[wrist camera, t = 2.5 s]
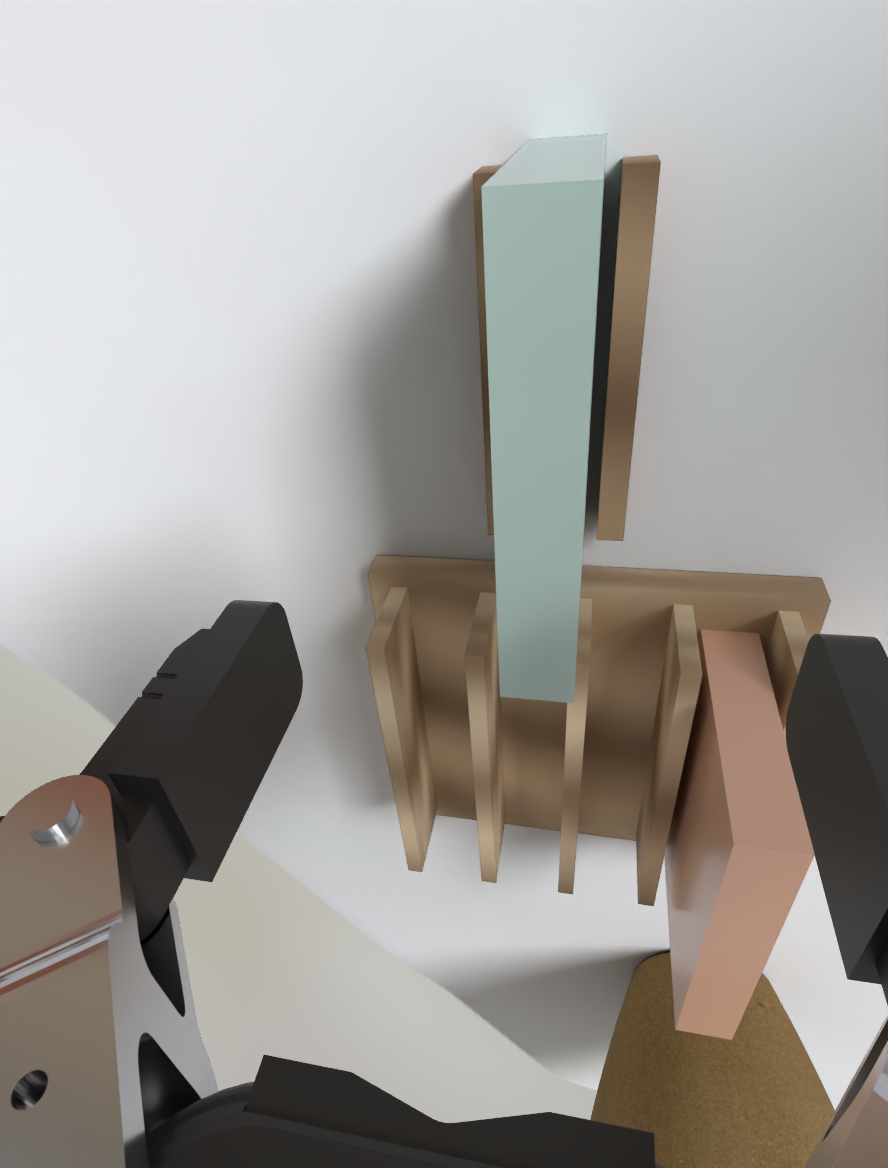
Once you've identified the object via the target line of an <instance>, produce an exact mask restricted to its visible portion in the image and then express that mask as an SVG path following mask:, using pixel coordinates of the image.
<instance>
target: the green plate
mask: <svg viewBox="0 0 888 1168" xmlns="http://www.w3.org/2000/svg"><path fill="white" fill-rule="evenodd" d="M606 141H607V134H594V135H580V136H566V137H553V138H539V139H530V140H529V141H528V142H527V143H526V144H525V145H524V146H523V147H522V148H521V149H520V150H519V151H518V152H517V153H516V154H515V155H514V156H513V157H512V158H510V159H509V160H508V161H507V162H506V163H505V164H504V165H503V166H502V167H501V168H500V169H499V170H498V171H497V172H496V173H495V174H494V175H493V176H492V177H491V178H490V179H489V180H488V181H487V182H486V183H485V184H484V185H483V186H481V188H482V216H483V244H484V271H485V299H486V326H487V354H488V381H489V409H490V437H491V464H492V492H493V519H494V547H495V575H496V602H497V630H498V657H499V685H500V697H510V698H522V699H533V700H544V701H555V702H566V703H574V692H575V675H576V659H577V642H578V625H579V609H580V592H581V575H582V558H583V542H584V525H585V508H586V490H587V473H588V455H589V438H590V420H591V403H592V385H593V368H594V351H595V333H596V316H597V298H598V281H599V263H600V246H601V229H602V211H603V194H604V176H605V159H606Z"/></svg>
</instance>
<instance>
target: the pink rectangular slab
mask: <svg viewBox="0 0 888 1168" xmlns="http://www.w3.org/2000/svg"><path fill="white" fill-rule="evenodd" d="M698 646H699V652H700V659H701V666H702V673H703V675H702V679H701V684H700V689H699V694H698V698H697V703H696V708H695V712H694V717H693V722H692V727H691V731H690V736H689V741H688V745H687V750H686V755H685V760H684V764H683V769H682V774H681V779H680V783H679V788H678V793H677V797H676V802H675V807H674V812H673V816H672V821H671V826H670V830H669V835H668V840H667V845H666V849H665V854H664V858H665V873H666V889H667V905H668V921H669V937H670V953H671V969H672V984H673V1000H674V1016H675V1030H679V1031H685V1032H691V1033H696V1034H702V1035H707V1036H713V1037H718V1038H724V1039H729V1040H732V1039H733V1036H734V1034H735V1032H736V1030H737V1027H738V1025H739V1023H740V1021H741V1018H742V1016H743V1014H744V1012H745V1009H746V1007H747V1005H748V1003H749V1000H750V998H751V996H752V994H753V992H754V989H755V987H756V985H757V983H758V980H759V978H760V976H761V974H762V971H763V969H764V967H765V965H766V962H767V960H768V958H769V956H770V953H771V951H772V949H773V947H774V945H775V942H776V940H777V938H778V936H779V933H780V931H781V929H782V927H783V924H784V922H785V920H786V918H787V915H788V913H789V911H790V909H791V906H792V904H793V902H794V900H795V897H796V895H797V893H798V891H799V889H800V886H801V884H802V882H803V880H804V877H805V875H806V873H807V871H808V868H809V866H810V864H811V862H812V859H813V857H814V855H815V854H814V850H813V846H812V842H811V839H810V835H809V831H808V827H807V823H806V820H805V816H804V812H803V808H802V804H801V801H800V797H799V793H798V789H797V785H796V782H795V778H794V774H793V770H792V767H791V763H790V759H789V755H788V751H787V745H786V739H785V735H784V731H783V727H782V723H781V719H780V715H779V711H778V707H777V703H776V699H775V695H774V692H773V688H772V684H771V680H770V676H769V672H768V668H767V664H766V660H765V656H764V652H763V648H762V644H761V640H760V636H759V633H748V632H733V631H718V630H703V629H701V632H700V637H699V642H698Z"/></svg>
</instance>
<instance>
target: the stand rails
mask: <svg viewBox="0 0 888 1168" xmlns="http://www.w3.org/2000/svg"><path fill="white" fill-rule="evenodd" d="M660 163H661V162H660V160H659V157H658V155H653V156H638V157H623V160H622V174H621V188H620V202H619V217H618V231H617V245H616V260H615V274H614V288H613V302H612V317H611V331H610V345H609V359H608V374H607V388H606V402H605V416H604V431H603V445H602V459H601V473H600V488H599V502H598V516H597V540H613V541H623V537H624V527H625V517H626V507H627V497H628V487H629V477H630V467H631V457H632V446H633V436H634V426H635V416H636V406H637V396H638V386H639V376H640V366H641V355H642V345H643V335H644V325H645V315H646V305H647V295H648V285H649V274H650V264H651V254H652V244H653V234H654V224H655V214H656V204H657V194H658V183H659V173H660ZM502 166H503V165H500V166H484V167H481V168H480V169H478V170H477V171H476V172H475V173H474V174H473V187H474V211H475V234H476V258H477V281H478V305H479V329H480V352H481V376H482V399H483V423H484V447H485V470H486V494H487V517H488V535H494V519H493V492H492V464H491V437H490V409H489V381H488V354H487V326H486V299H485V271H484V244H483V216H482V188H481V186H483V185H484V184H485V183H486V182H487V181H488V180H489V179H490V178H491V177H492V176H493V175H494V174H495V173H496V172H497V171H498V170H499V169H500V168H501V167H502Z"/></svg>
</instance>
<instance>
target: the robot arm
mask: <svg viewBox="0 0 888 1168" xmlns="http://www.w3.org/2000/svg"><path fill="white" fill-rule="evenodd" d="M302 685H303V678H302V670H301V666H300V663H299V659H298V655H297V652H296V648H295V645H294V641H293V638H292V634H291V631H290V627H289V623H288V620H287V616H286V613H285V610H284V608H283V607H282V605H281V604H279V603H277V602H260V601H242V600H234V601H232V602H231V603H229V604H228V605H227V607H226V608H225V609H224V611H223V612H222V613H221V615H220V616H219V618H218V619H217V620H216V622H215V623H214V625H213V626H212V627H211V629H201V630H199V631H198V632H197V633H195V634H194V635H193V636H191V637H190V638H189V639H187V640H186V641H185V642H183V643H182V644H181V645H179V646H178V647H176V648H175V649H174V650H173V652H172V653H171V654H170V656H169V657H168V658H167V660H166V661H165V662H164V664H163V665H162V666H161V668H160V669H159V670H158V672H157V677H156V678H155V677H153V678H152V680H151V681H150V682H149V684H148V685H147V686H146V688H145V689H144V690H143V692H142V697H138V698H137V700H136V701H135V702H134V704H133V705H132V706H131V707H130V709H129V710H128V711H127V713H126V714H125V715H124V717H123V718H122V719H121V721H120V722H119V723H118V725H117V726H116V727H115V729H114V730H113V731H112V733H111V734H110V736H109V737H108V738H107V739H106V741H105V742H104V743H103V745H102V746H101V748H100V749H99V750H98V751H97V753H96V754H95V755H94V757H93V758H92V759H91V761H90V762H89V763H88V765H87V766H86V767H85V769H84V770H83V771H82V772H81V773H80V775H74V776H67V777H63V778H59V779H56V780H53V781H51V782H49V783H46V784H44V785H42V786H40V787H39V788H37V789H35V790H33V791H32V792H31V793H29V794H28V795H26V796H25V797H24V798H23V799H21V800H20V801H19V802H18V803H16V804H15V806H14V807H13V808H12V809H11V810H10V811H9V812H8V813H7V815H6V816H2V817H0V1168H666V1167H665V1166H663V1165H661V1164H659V1163H657V1162H656V1161H655V1145H654V1133H651V1132H646V1131H641V1130H636V1129H631V1128H626V1127H621V1126H616V1125H611V1124H606V1123H601V1122H596V1121H591V1120H586V1119H581V1118H576V1117H572V1116H566V1115H562V1114H557V1113H552V1112H545V1113H537V1114H529V1115H520V1116H511V1117H502V1118H494V1119H485V1120H476V1121H468V1122H459V1123H443V1122H438V1121H436V1120H434V1119H432V1118H430V1117H428V1116H427V1115H425V1114H423V1113H421V1112H420V1111H418V1110H416V1109H415V1108H413V1107H411V1106H409V1105H408V1104H406V1103H404V1102H402V1101H401V1100H399V1099H397V1098H395V1097H394V1096H392V1095H390V1094H388V1093H387V1092H385V1091H383V1090H381V1089H380V1088H378V1087H376V1086H374V1085H372V1084H371V1083H369V1082H367V1081H366V1080H364V1079H362V1078H360V1077H359V1076H357V1075H355V1074H354V1073H351V1072H348V1071H343V1070H337V1069H333V1068H327V1067H322V1066H318V1065H312V1064H307V1063H302V1062H298V1061H293V1060H287V1059H282V1058H277V1057H273V1056H268V1055H264V1056H263V1059H262V1062H261V1065H260V1067H259V1070H258V1073H257V1076H256V1079H255V1082H250V1083H245V1084H241V1085H238V1086H235V1087H231V1088H227V1089H224V1090H221V1091H218V1087H217V1083H216V1079H215V1075H214V1072H213V1069H212V1065H211V1063H210V1059H209V1057H208V1054H207V1052H206V1049H205V1047H204V1044H203V1042H202V1039H201V1035H200V1032H199V1028H198V1024H197V1019H196V1014H195V1008H194V1002H193V996H192V990H191V985H190V979H189V973H188V967H187V962H186V956H185V950H184V944H183V938H182V933H181V927H180V921H179V915H178V909H177V906H176V902H175V901H174V899H173V897H174V895H175V893H176V891H177V889H178V887H179V886H180V884H181V882H182V880H183V878H188V879H195V880H201V881H208V882H212V881H213V879H214V877H215V875H216V873H217V871H218V869H219V867H220V864H221V863H222V861H223V858H224V856H225V854H226V852H227V850H228V848H229V846H230V844H231V842H232V840H233V838H234V836H235V834H236V832H237V830H238V828H239V826H240V824H241V822H242V820H243V818H244V816H245V814H246V812H247V810H248V808H249V805H250V803H251V801H252V799H253V797H254V795H255V793H256V791H257V789H258V787H259V785H260V783H261V781H262V779H263V777H264V775H265V773H266V771H267V769H268V767H269V765H270V763H271V761H272V759H273V757H274V755H275V752H276V750H277V748H278V746H279V744H280V742H281V740H282V738H283V736H284V734H285V732H286V730H287V728H288V726H289V724H290V722H291V720H292V718H293V716H294V714H295V712H296V710H297V707H298V705H299V702H300V698H301V694H302ZM786 745H787V751H788V755H789V759H790V763H791V767H792V770H793V774H794V778H795V782H796V785H797V789H798V793H799V797H800V801H801V804H802V808H803V812H804V816H805V820H806V823H807V827H808V831H809V835H810V839H811V842H812V846H813V850H814V854H815V858H816V861H817V865H818V869H819V873H820V877H821V880H822V884H823V888H824V892H825V896H826V899H827V903H828V907H829V911H830V915H831V918H832V922H833V926H834V930H835V933H836V937H837V941H838V945H839V949H840V952H841V956H842V960H843V964H844V968H845V971H846V975H847V979H849V980H856V981H863V982H869V983H876V984H882V988H883V991H884V994H885V998H886V1001H887V1004H888V657H887V655H886V653H885V651H884V649H883V647H882V645H881V643H880V642H879V640H878V639H876V638H875V637H865V636H847V635H829V634H814V635H813V636H812V637H811V638H810V640H809V642H808V644H807V647H806V651H805V654H804V657H803V660H802V664H801V667H800V670H799V674H798V677H797V680H796V683H795V687H794V690H793V693H792V697H791V700H790V703H789V707H788V711H787V716H786ZM803 1168H888V1016H887V1018H886V1019H885V1021H884V1022H883V1024H882V1026H881V1028H880V1030H879V1032H878V1033H877V1035H876V1037H875V1039H874V1041H873V1043H872V1044H871V1046H870V1048H869V1050H868V1052H867V1054H866V1055H865V1057H864V1059H863V1061H862V1063H861V1064H860V1066H859V1068H858V1070H857V1072H856V1074H855V1075H854V1077H853V1079H852V1081H851V1083H850V1085H849V1086H848V1088H847V1090H846V1092H845V1094H844V1096H843V1097H842V1099H841V1101H840V1103H839V1105H838V1107H837V1108H836V1110H835V1112H834V1114H833V1116H832V1117H831V1119H830V1121H829V1123H828V1125H827V1127H826V1128H825V1130H824V1132H823V1134H822V1136H821V1138H820V1139H819V1141H818V1143H817V1145H816V1147H815V1148H814V1150H813V1152H812V1153H811V1155H810V1157H809V1159H808V1160H807V1162H806V1164H805V1165H804V1167H803Z"/></svg>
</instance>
